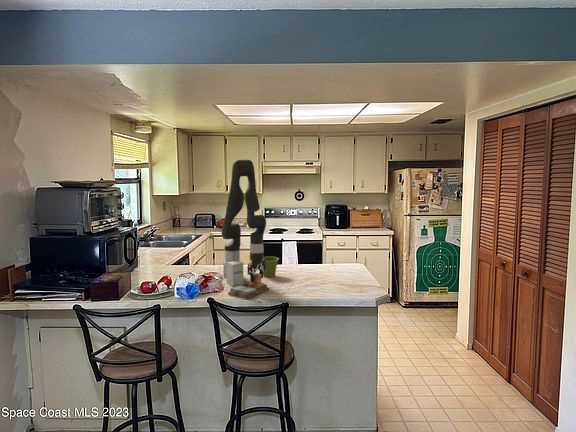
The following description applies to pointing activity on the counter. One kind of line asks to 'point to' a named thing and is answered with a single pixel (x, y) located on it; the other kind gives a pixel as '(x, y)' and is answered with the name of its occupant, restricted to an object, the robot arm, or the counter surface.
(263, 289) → the ticket board
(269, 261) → the plant pot
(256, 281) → the stub
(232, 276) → the supplement box
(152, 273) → the counter surface
